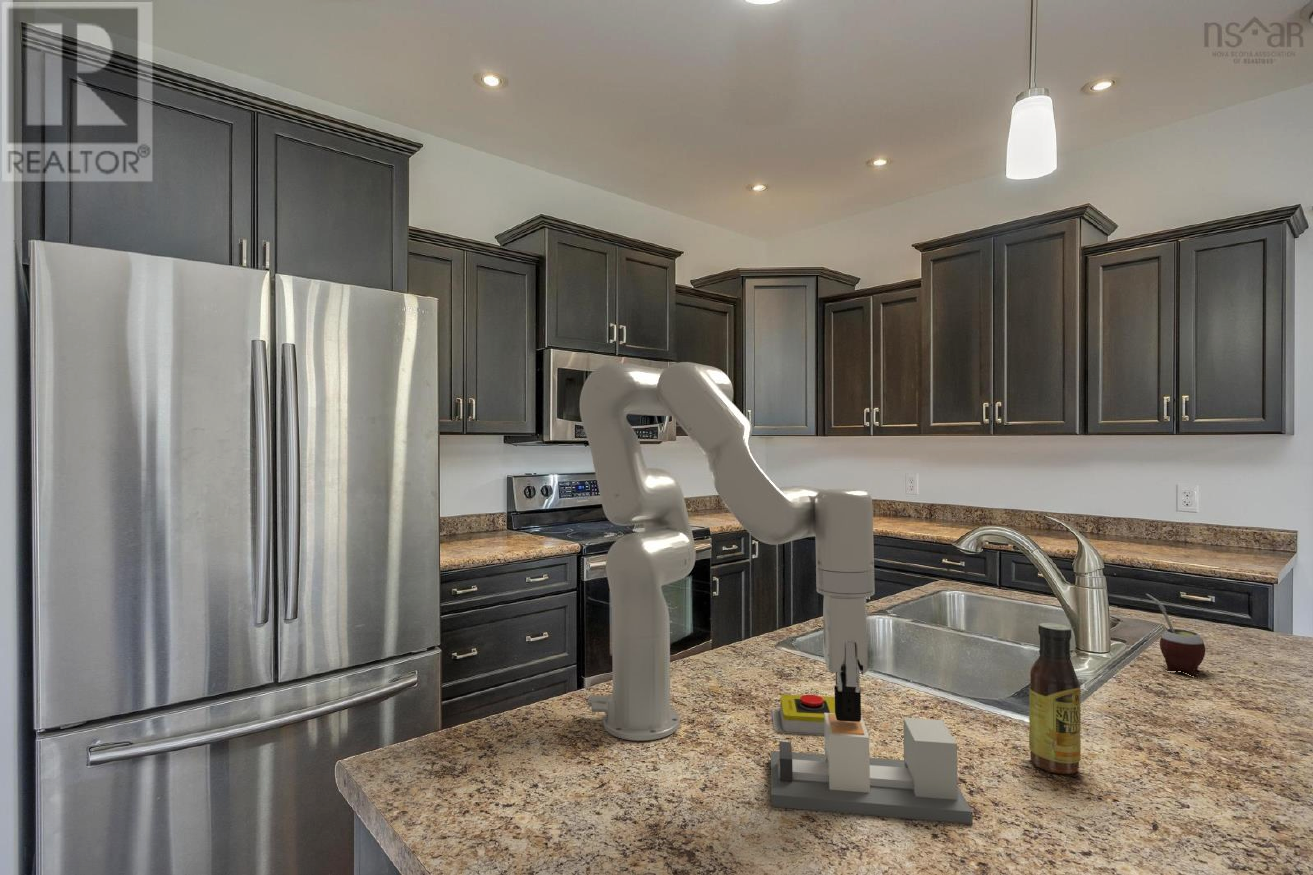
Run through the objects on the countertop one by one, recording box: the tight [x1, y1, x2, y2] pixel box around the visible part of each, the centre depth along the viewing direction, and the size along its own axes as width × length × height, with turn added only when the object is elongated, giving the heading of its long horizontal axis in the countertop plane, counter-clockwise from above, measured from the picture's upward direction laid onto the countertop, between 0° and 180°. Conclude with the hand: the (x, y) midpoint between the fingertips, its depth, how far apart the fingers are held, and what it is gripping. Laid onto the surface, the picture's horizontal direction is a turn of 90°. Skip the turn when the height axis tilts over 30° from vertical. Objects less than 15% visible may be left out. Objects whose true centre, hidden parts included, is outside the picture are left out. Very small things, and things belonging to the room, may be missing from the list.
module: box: [824, 713, 870, 793], centre depth 86 cm, size 5×7×7 cm
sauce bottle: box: [1028, 622, 1082, 775], centre depth 92 cm, size 6×6×20 cm
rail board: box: [770, 717, 974, 825], centre depth 86 cm, size 24×12×8 cm, turn 80°
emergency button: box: [771, 694, 870, 737], centre depth 107 cm, size 9×4×15 cm
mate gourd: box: [1145, 593, 1206, 678], centre depth 129 cm, size 8×8×15 cm
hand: (847, 718), depth 86 cm, fingers closed
